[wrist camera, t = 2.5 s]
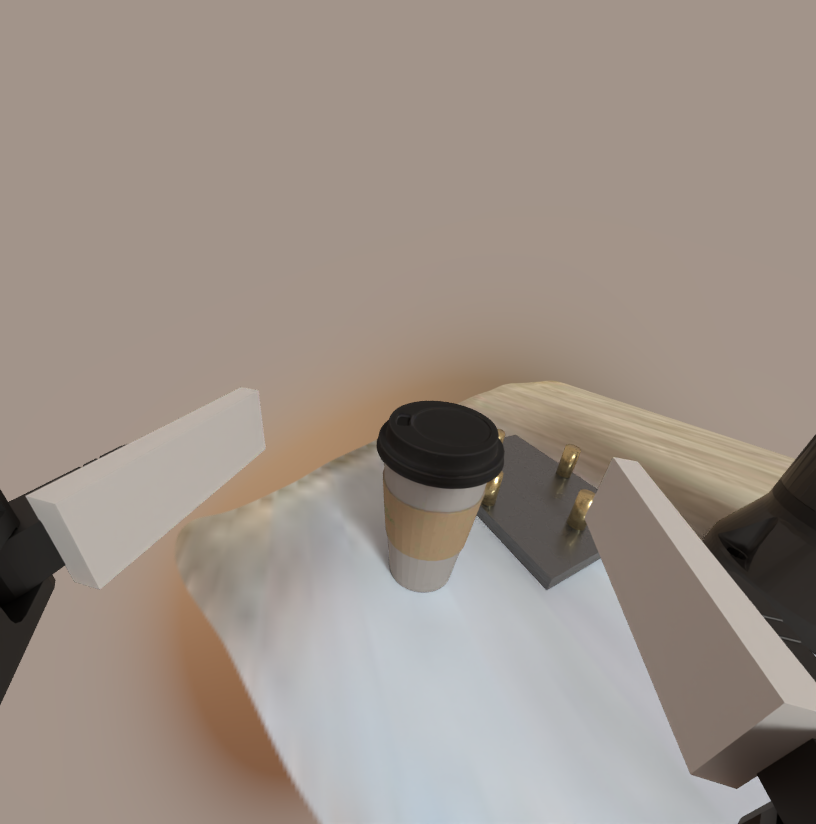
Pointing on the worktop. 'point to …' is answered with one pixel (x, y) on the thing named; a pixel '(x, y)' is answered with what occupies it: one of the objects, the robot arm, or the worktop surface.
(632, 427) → the worktop surface
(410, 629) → the worktop surface
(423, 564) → the coffee cup
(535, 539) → the pin plate
